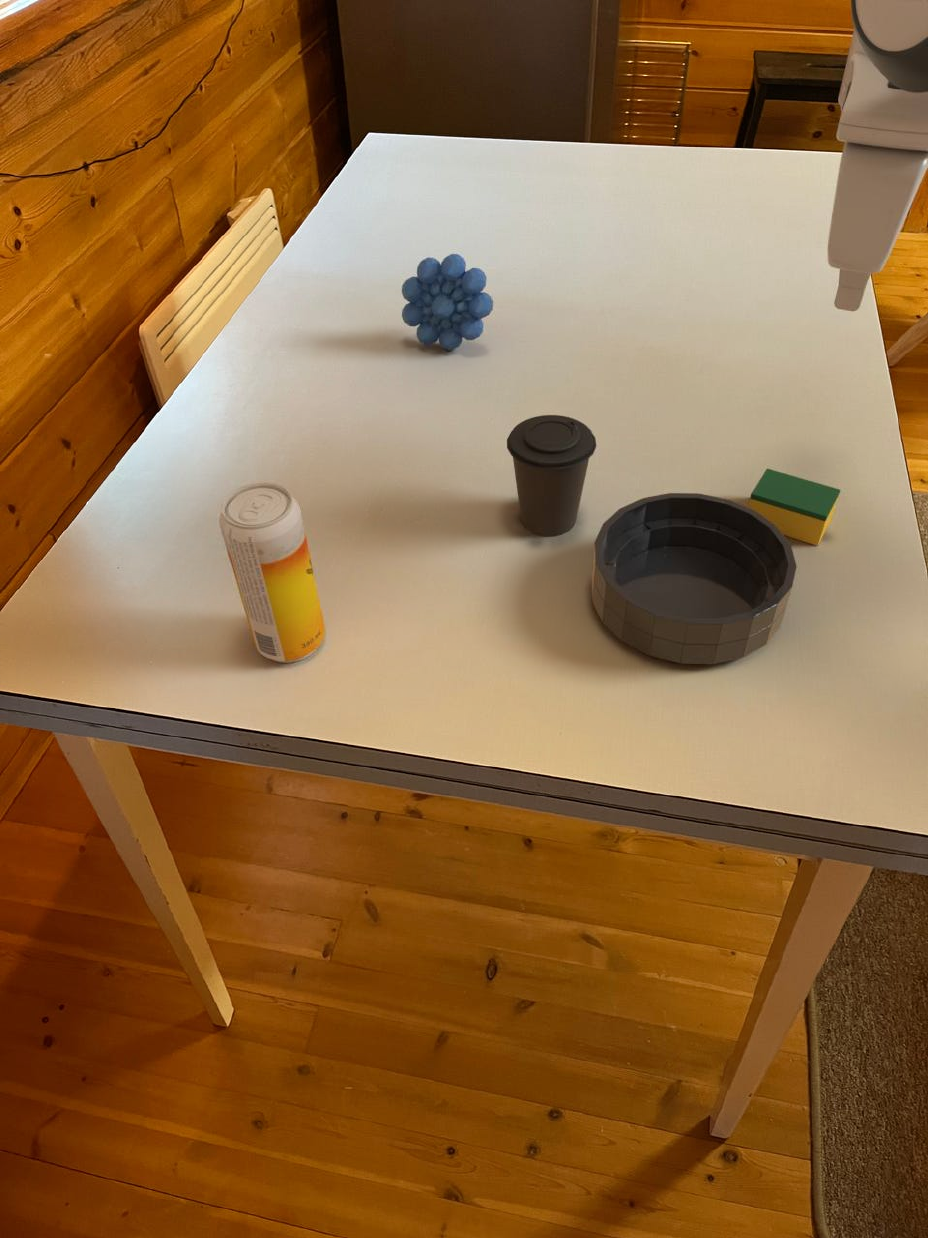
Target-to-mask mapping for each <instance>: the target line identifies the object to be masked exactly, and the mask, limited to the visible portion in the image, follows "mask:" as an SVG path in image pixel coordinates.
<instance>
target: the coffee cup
mask: <svg viewBox="0 0 928 1238" xmlns="http://www.w3.org/2000/svg"><path fill="white" fill-rule="evenodd" d="M506 449H507V451H508V452H509V454H510V456H511V457H512V461H513V467H514V476H515V483H516V491H517V492H516V493H517V498H518V505H519V514H520V522H521V524H522V526H523V527H524V528H525V529H526V530H527V531H528V532H530V533H532V534H535V535H537V536H540V537H541V536H542V537H556V536H557V537H558V536H561V535H564V534H566V533H568V532H570V531H571V530H572V529H573V528H574V527H575V525H576V522H577V520H578V519H577V518H578V513H579V509H580V504H581V499H582V495H583V491H584V486H585V480H586V476H587V471H588V465H589V460H590V458H591V457H592V456H593V455H594V453H595V450H596V449H597V440H596V437H595V436H594V433H593V431H592V430H591V429H590V428H589V426H587V425H586V424H585V423H583V422H582V421H580V420H578V419H575V418H573V417H570V416H565V415H559V414H544V415H543V414H541V415H537V416H533V417H530V418H527V419H525V420H523V421H521V422H519V423H518V424H517V425H515V427H513V429H512V430H511V431H510V433H509V435H508V437H507V439H506Z"/></svg>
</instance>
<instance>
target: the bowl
mask: <svg viewBox="0 0 928 1238" xmlns="http://www.w3.org/2000/svg"><path fill="white" fill-rule="evenodd" d="M797 568H798V567H797V562H796V558H795V555H794V551H793V548H792V544H791V543H790V542H789V540H788V539H787V538H786V536H785V535H783V534H782V533H781V531H780V530H779V529H778V527H777V526H776V525H774V524H773V523H772V522H770V521H769V520H767V519H766V518H765V517H763V516H762V515H760V514H759V513H758V512H756V511H754V510H753V509H750V508H748V506H745V505H743V504H741V503H739V502H736V501H733V500H731V499H728V498H724V497H720V496H719V497H718V496H714V495H710V494H705V493H697V492H668V493H663V494H657V495H652V496H647V497H643V498H640V499H637V500H635V501H633V502H631V503H629V504H626V505H625V506H623V507H620V508H619V509H617V510H616V511H615V512H614V513H613V514H612V515H611V516H610V517H609V518H607V520H605V521H604V522H603V523H602V525H601V527H600V529H599V531H598V534H597V537H596V539H595V541H594V546H593V557H592V571H591V602H592V604H593V607H594V609H595V611H596V613H597V615H598V616H599V618H600V621H601V622H602V624H604V626H605V627H607V628H608V630H609V631H611V633H612V634H614V635H615V636H616V637H617V638H618V639H619V640H620V641H621V642H623V643H625V644H627V645H628V646H630V647H632V648H634V649H636V650H638V651H640V652H642V653H643V654H646V655H647V656H650V657H654V658H657V659H661V660H665V661H668V662H669V661H670V662H674V663H678V664H682V665H683V664H689V665H691V664H692V665H716V664H720V663H726V662H729V661H733V660H739V659H743V658H745V657H746V656H749V655H750V654H752V653H754V652H755V651H757V650H759V649H761V648H762V647H764V646H766V645H767V644H768V643H769V641H770V640H771V639H772V638H773V637H774V636H775V634H776V633H777V632H778V630H779V629H780V628H781V626H782V623H783V619H784V616H785V613H786V609H787V605H788V603H789V600H790V596H791V592H792V589H793V586H794V581H795V576H796V572H797Z"/></svg>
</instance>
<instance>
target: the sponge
mask: <svg viewBox="0 0 928 1238" xmlns="http://www.w3.org/2000/svg"><path fill="white" fill-rule="evenodd" d="M840 493H841V489H839V488H836V487H833V486H829V485H826V484H823V483H818V482H815V481H812V480H809V479H805V478H802V477H798V476H795V475H791V474H788V473H784V472H780V471H777V470H774V469H770V468H766V469H765V470H764V472H763V474H762V475H761V477H760V479H759V480H758V482H757V483H756V485H755V487H754V488H753V490H752V492H750V497H749V502H748V506H747V507H748V508H750V509H753V510H754V511H756V512H758V513H759V514H760V515H762V516H763V517H765V518H766V519H767V520H769V521H770V522H772V523H773V524H774V525H776V526H777V527H778V529H779V530H780V531H781V533H782V534H783V535H784V537H788V538H791V539H794V540H798V541H801V542H804V543H808V544H811V545H813V546H819V544H820V542H821V540H823V537H824V535H825V532H826V531H827V529H828V527H829V525H830V523H831V521H832V519H833V515H834V512H835V510H836V506H837V503H838V500H839V498H840Z"/></svg>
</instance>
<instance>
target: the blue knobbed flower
mask: <svg viewBox="0 0 928 1238" xmlns="http://www.w3.org/2000/svg"><path fill="white" fill-rule="evenodd" d="M466 267H467V264H466V261H465V258H464V257H463V256H461V254H458V253H450V254H448V255H447V256H446V257H444V258H443V260H442V261H441V262H440V261H439V260H438V259H436V258H434V257H426V258H424V259H422V260H421V261H420V262H419V263H418V265H417V267H416V276H411V277H409V278H407V279H406V280H404V282H403V284H402V285H401V294H402V297H403V299H404V300H405V301H407V302H408V303H406V304H405V305H404V307H403V308H402V311H401V319H402V321H403V323H404V324H406V325H407V326H409V327H417V328H416V339H417V340H418V342H419V343H421V344H422V345H424V346H431V345H432V344H435V343H436V342H437V341H438V344H439V346H440V347H441V348H442V349H444V350H445V351H454V350H456V349H458V348H460V346H461V345H462V343H463V339H464V340H466V341H474V340H476V339H478V338H480V337H481V335H482V334H483V332H484V321H483V320H482V319H484V318H486V317H488V316H490V314H491V313H492V311H493V310H494V299H493V298H492V297H493V296H491V295H490V294H489V293H488V292H484V290H485V288H486V286H487V276H486V273H485V272H484V271H483V270H482V269H481V268H478V267H471V268H470V269H466Z"/></svg>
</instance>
